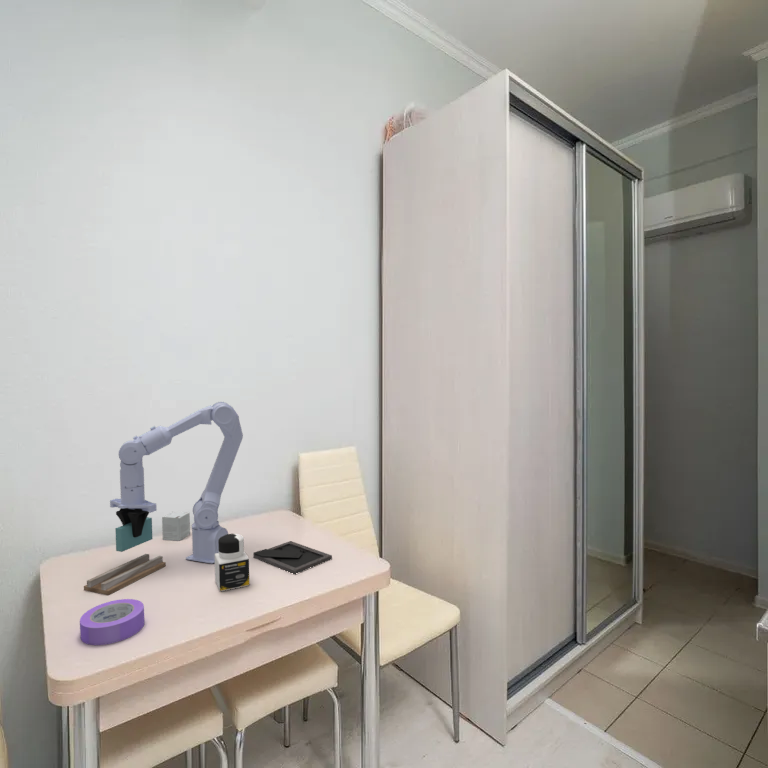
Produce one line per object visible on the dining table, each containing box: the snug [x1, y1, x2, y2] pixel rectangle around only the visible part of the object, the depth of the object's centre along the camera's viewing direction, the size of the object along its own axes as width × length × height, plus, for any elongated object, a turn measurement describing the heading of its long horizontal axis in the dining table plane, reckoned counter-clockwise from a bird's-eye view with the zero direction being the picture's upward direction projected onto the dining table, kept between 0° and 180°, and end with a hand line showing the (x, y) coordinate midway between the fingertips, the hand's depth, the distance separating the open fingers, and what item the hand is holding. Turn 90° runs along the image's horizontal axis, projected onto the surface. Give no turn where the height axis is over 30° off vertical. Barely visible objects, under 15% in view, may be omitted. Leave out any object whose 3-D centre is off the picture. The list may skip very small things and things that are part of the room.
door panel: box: [115, 516, 153, 553], centre depth 134 cm, size 2×10×6 cm, turn 159°
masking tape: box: [79, 598, 146, 646], centre depth 103 cm, size 12×12×4 cm
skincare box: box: [161, 511, 191, 542], centre depth 158 cm, size 6×6×7 cm
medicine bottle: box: [214, 533, 250, 592], centre depth 124 cm, size 7×7×12 cm
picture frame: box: [252, 540, 333, 575], centre depth 139 cm, size 13×2×18 cm
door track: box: [83, 553, 167, 596], centre depth 128 cm, size 8×18×2 cm, turn 160°
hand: (133, 535), depth 134 cm, fingers closed on door panel, 2 cm apart
